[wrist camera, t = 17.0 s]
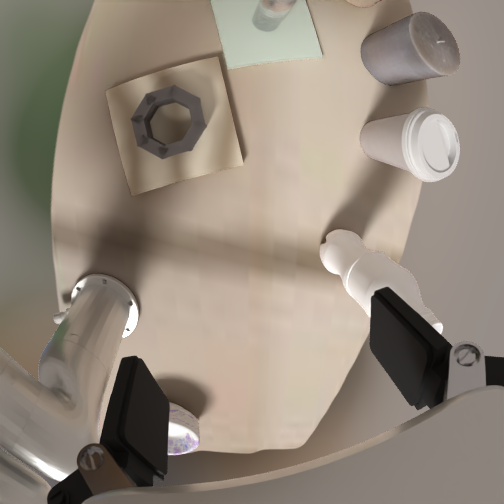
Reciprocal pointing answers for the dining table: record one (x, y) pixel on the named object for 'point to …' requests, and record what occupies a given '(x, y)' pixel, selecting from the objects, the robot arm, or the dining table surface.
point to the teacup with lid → (363, 2)
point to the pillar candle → (411, 50)
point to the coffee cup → (414, 143)
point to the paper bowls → (182, 431)
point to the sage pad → (264, 35)
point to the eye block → (174, 125)
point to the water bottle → (371, 273)
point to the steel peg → (271, 13)
